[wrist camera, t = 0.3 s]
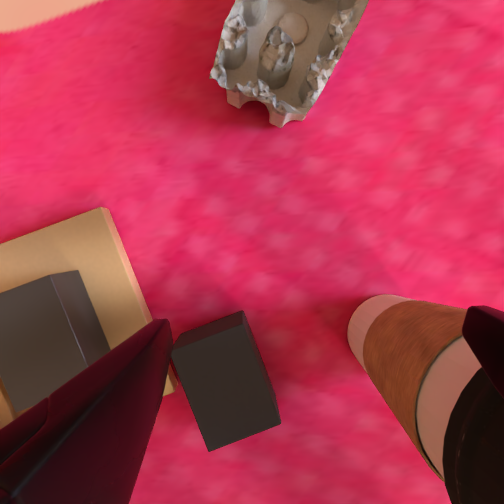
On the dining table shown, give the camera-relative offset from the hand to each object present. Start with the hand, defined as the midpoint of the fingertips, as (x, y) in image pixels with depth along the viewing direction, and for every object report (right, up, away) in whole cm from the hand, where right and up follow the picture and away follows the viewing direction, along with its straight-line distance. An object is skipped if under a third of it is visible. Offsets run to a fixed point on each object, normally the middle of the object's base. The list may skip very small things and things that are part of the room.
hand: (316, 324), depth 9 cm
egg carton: (+1, +17, +12) cm, 21 cm away
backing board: (-19, -4, +12) cm, 23 cm away
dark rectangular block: (-4, -6, +13) cm, 15 cm away
